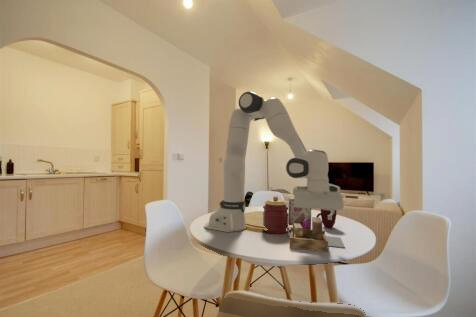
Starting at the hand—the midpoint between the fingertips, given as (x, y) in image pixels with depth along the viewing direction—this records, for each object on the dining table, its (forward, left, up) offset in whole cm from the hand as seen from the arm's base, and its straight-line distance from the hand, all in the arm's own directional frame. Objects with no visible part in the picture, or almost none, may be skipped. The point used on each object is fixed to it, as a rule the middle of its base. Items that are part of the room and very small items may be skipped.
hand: (318, 218), depth 97 cm
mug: (+6, +29, -11) cm, 32 cm away
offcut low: (-8, 0, -11) cm, 14 cm away
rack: (-4, 0, -11) cm, 12 cm away
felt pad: (+7, +5, -11) cm, 14 cm away
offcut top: (-8, 0, -7) cm, 11 cm away
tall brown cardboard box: (0, 0, -11) cm, 11 cm away
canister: (-20, +14, -11) cm, 27 cm away
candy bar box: (-8, +19, -11) cm, 24 cm away
